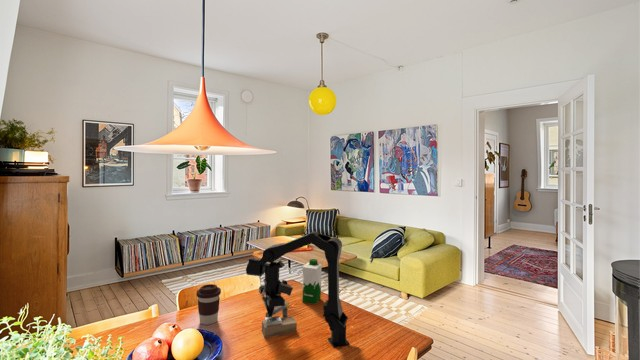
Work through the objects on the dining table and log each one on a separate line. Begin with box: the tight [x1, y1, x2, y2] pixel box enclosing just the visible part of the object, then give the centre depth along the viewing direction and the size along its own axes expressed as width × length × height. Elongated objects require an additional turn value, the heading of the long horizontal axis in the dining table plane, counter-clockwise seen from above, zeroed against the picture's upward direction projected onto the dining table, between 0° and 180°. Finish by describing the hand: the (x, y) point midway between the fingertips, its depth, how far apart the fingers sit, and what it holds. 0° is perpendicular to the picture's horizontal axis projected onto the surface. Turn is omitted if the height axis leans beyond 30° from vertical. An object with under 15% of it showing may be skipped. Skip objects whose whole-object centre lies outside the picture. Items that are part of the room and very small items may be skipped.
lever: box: [265, 300, 290, 318], centre depth 136 cm, size 14×4×2 cm, turn 149°
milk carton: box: [301, 258, 323, 305], centre depth 163 cm, size 9×9×20 cm
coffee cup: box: [195, 283, 222, 326], centre depth 140 cm, size 10×10×15 cm
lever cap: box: [264, 315, 282, 326], centre depth 131 cm, size 4×6×2 cm
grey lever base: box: [261, 308, 298, 339], centre depth 135 cm, size 12×13×6 cm
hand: (270, 316), depth 130 cm, fingers closed
